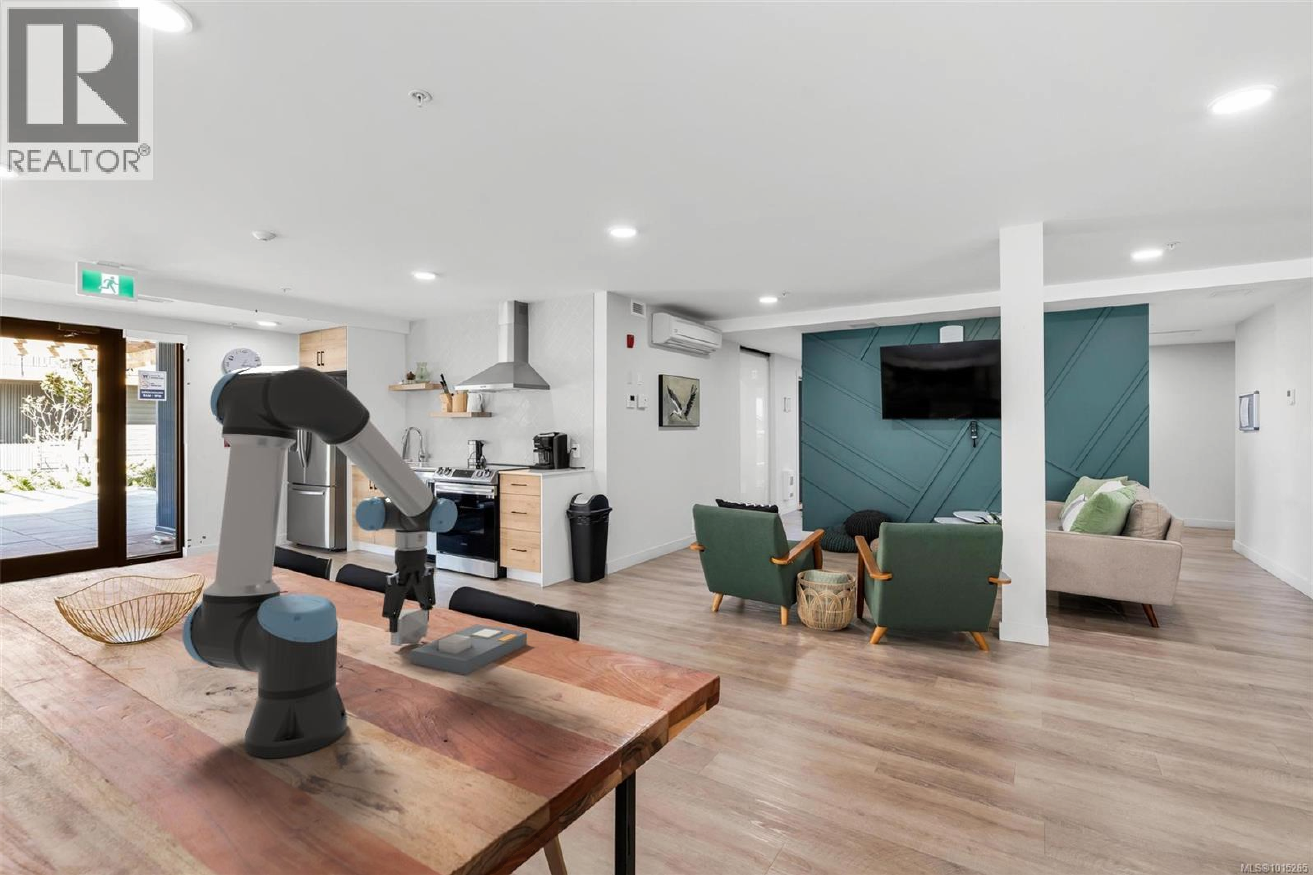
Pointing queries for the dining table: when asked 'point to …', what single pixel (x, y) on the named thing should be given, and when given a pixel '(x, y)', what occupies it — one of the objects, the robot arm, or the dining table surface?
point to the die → (413, 625)
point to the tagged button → (486, 634)
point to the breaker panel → (469, 650)
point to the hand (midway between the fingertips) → (409, 640)
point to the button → (455, 643)
